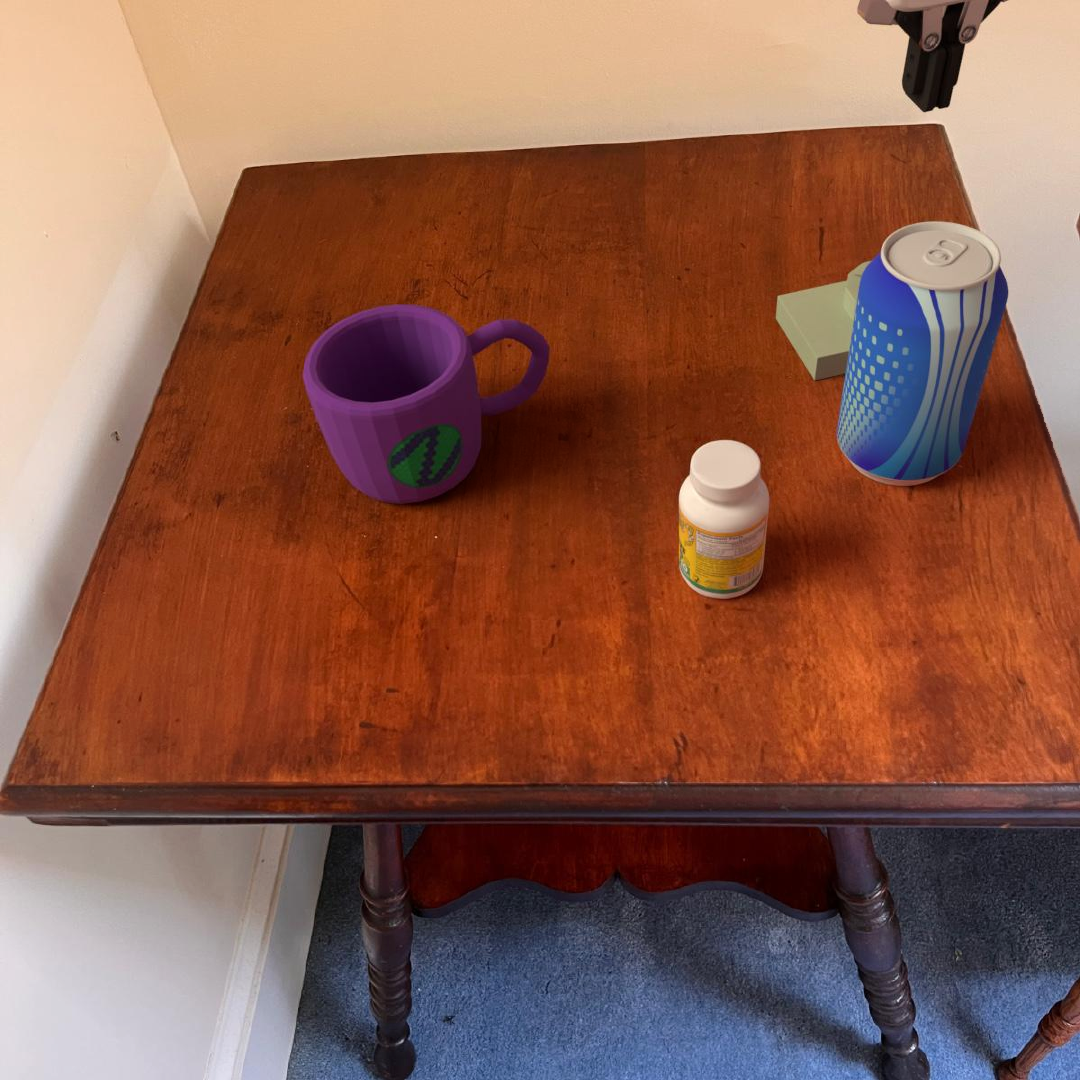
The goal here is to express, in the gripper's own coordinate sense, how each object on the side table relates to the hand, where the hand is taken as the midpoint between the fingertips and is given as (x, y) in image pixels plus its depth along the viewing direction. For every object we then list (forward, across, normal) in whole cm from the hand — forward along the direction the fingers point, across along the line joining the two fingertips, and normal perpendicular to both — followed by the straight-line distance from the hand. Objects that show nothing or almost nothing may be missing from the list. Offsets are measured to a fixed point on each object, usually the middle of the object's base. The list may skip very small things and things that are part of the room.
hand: (925, 99), depth 67 cm
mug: (+18, -35, -2) cm, 40 cm away
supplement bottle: (+18, -20, -20) cm, 33 cm away
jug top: (+18, -2, 0) cm, 18 cm away
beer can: (+18, -5, -13) cm, 23 cm away
